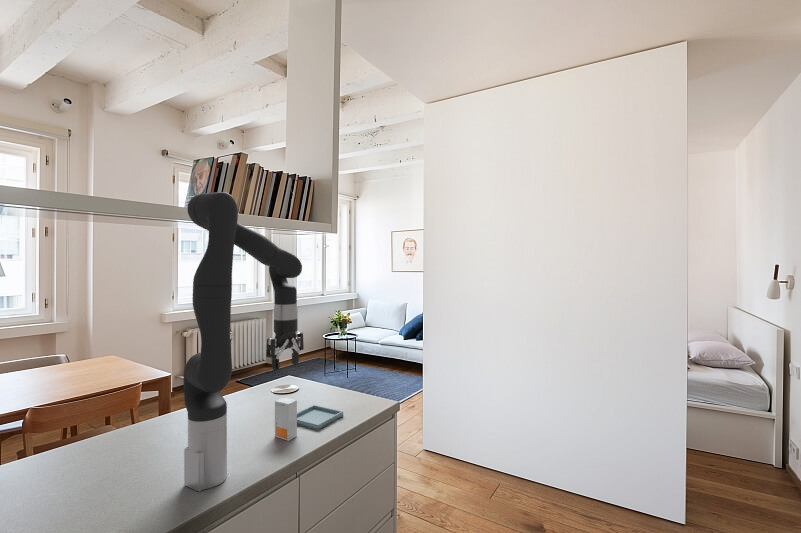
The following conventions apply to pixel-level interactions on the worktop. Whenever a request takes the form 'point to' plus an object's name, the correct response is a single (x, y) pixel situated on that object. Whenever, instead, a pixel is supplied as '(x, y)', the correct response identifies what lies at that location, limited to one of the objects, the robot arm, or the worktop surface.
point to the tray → (317, 417)
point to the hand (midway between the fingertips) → (285, 367)
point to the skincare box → (286, 418)
